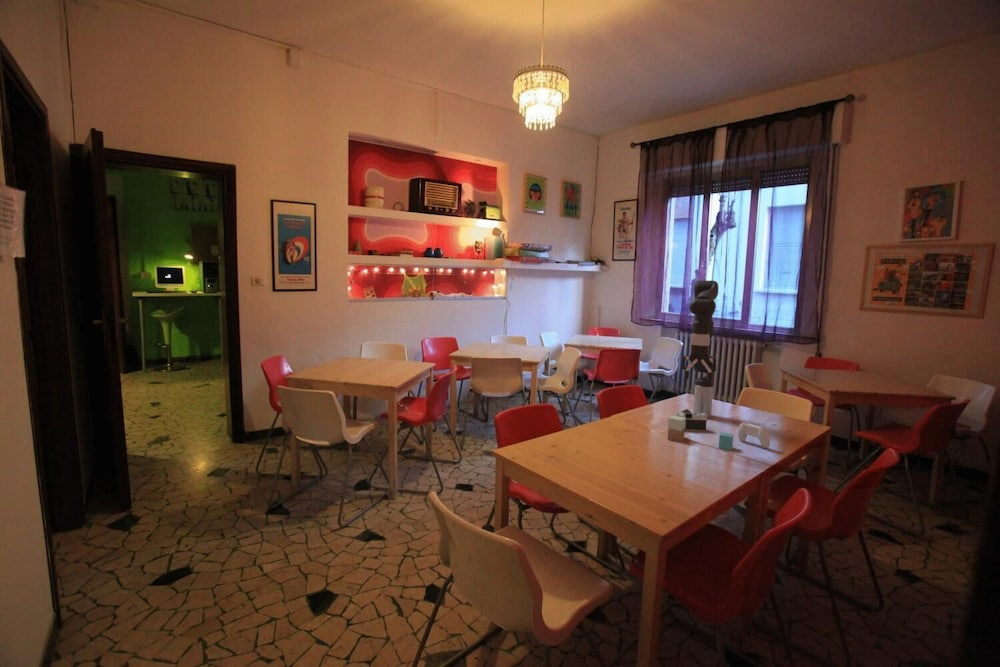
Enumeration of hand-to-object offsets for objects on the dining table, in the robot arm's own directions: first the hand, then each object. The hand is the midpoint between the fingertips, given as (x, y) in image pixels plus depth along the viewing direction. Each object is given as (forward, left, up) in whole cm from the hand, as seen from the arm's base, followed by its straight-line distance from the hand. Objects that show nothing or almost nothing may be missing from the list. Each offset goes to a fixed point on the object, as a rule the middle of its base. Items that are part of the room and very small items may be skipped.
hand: (697, 379), depth 211 cm
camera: (-21, -5, -29) cm, 36 cm away
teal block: (+1, +13, -29) cm, 32 cm away
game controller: (-10, +23, -29) cm, 38 cm away
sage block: (0, -8, -24) cm, 25 cm away
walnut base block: (0, -8, -29) cm, 30 cm away
